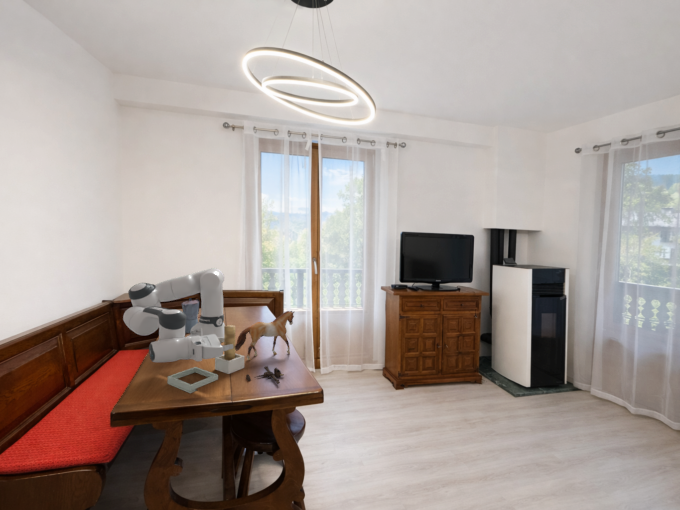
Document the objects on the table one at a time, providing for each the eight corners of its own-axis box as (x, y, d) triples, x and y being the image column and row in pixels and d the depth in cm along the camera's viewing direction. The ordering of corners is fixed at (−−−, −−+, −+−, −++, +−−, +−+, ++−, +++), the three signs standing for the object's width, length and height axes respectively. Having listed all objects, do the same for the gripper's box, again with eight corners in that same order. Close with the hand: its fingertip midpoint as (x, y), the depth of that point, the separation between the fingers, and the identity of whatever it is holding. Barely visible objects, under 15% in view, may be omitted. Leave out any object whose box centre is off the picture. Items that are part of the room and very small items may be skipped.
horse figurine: (292, 349, 172) (293, 309, 171) (298, 354, 165) (299, 312, 164) (230, 360, 155) (231, 315, 154) (235, 365, 148) (236, 319, 147)
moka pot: (176, 334, 192) (176, 299, 191) (191, 327, 208) (191, 295, 207) (191, 335, 191) (191, 300, 190) (206, 328, 206) (206, 295, 205)
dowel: (222, 368, 142) (222, 326, 141) (230, 365, 145) (230, 324, 145) (229, 371, 139) (229, 328, 138) (237, 367, 143) (237, 326, 142)
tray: (167, 383, 128) (167, 376, 128) (195, 373, 139) (195, 366, 138) (190, 393, 121) (190, 385, 121) (217, 381, 131) (218, 374, 131)
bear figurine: (241, 367, 140) (275, 358, 147) (242, 377, 140) (275, 368, 147) (252, 384, 124) (289, 373, 131) (253, 395, 124) (290, 384, 131)
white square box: (214, 371, 141) (215, 357, 141) (230, 365, 148) (231, 352, 148) (228, 376, 137) (228, 361, 136) (244, 369, 144) (244, 356, 144)
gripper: (192, 347, 145) (226, 343, 151) (197, 363, 127) (235, 357, 133) (193, 332, 144) (226, 329, 151) (198, 346, 126) (235, 342, 133)
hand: (230, 342), depth 142 cm, fingers open, 8 cm apart
